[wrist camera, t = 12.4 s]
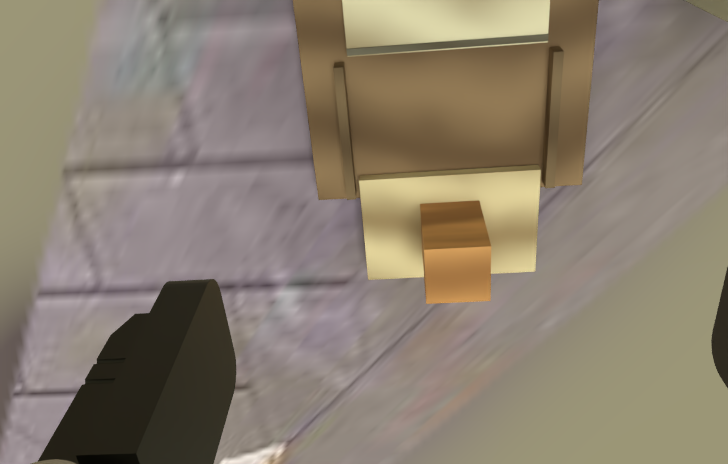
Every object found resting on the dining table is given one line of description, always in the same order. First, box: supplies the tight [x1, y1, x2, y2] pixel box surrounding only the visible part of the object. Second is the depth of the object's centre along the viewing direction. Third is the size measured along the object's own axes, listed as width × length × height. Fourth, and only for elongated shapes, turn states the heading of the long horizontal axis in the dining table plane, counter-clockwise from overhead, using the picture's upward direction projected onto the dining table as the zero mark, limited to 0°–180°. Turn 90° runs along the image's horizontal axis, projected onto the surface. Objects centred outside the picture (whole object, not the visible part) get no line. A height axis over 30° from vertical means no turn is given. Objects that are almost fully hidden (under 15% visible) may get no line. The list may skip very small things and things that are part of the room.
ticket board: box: [293, 0, 599, 200], centre depth 39 cm, size 22×18×5 cm
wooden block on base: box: [359, 165, 541, 304], centre depth 43 cm, size 8×12×7 cm, turn 95°
